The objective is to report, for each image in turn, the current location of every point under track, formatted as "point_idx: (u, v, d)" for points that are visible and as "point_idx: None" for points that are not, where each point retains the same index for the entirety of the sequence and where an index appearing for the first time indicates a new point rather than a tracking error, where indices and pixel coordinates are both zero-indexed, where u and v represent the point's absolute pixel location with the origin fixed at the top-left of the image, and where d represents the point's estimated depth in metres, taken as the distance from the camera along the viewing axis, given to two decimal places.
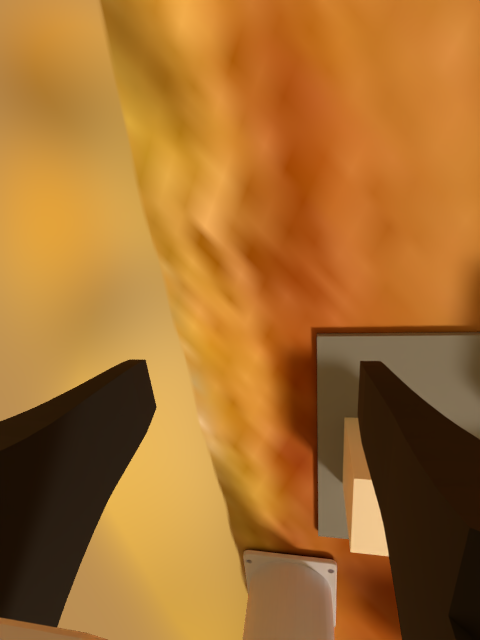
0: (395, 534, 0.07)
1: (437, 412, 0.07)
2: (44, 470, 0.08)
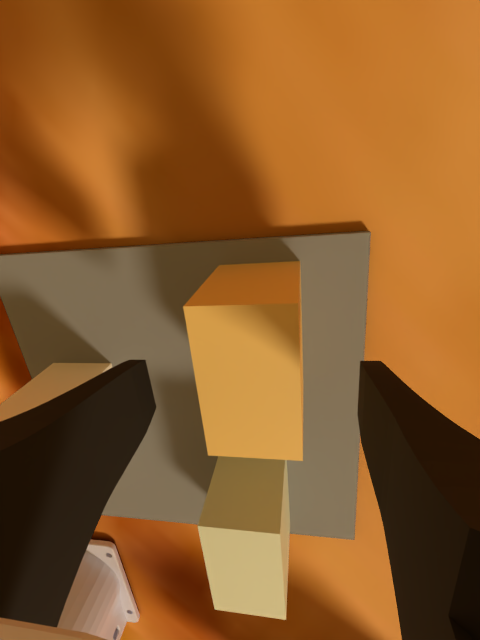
0: (395, 534, 0.07)
1: (437, 412, 0.07)
2: (44, 470, 0.08)
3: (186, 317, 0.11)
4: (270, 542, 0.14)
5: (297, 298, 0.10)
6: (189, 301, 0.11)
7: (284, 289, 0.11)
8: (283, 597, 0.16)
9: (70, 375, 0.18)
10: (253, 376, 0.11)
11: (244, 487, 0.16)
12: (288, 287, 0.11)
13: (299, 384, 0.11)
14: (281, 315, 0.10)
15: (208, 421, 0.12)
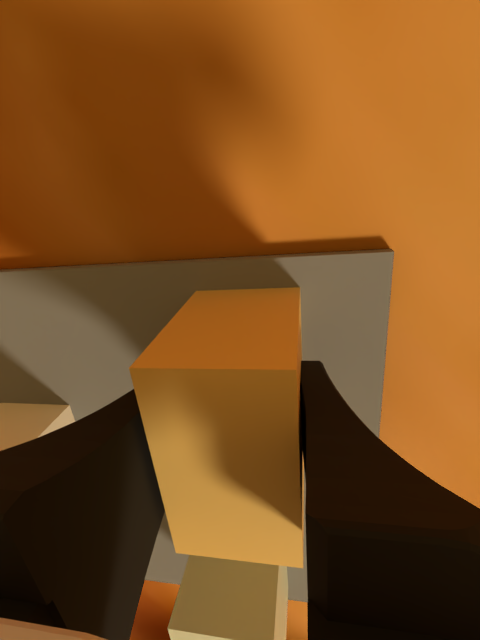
0: None
1: (348, 409, 0.08)
2: (119, 476, 0.07)
3: (134, 383, 0.07)
4: None
5: (295, 358, 0.07)
6: (140, 357, 0.08)
7: (276, 338, 0.08)
8: None
9: (16, 422, 0.14)
10: (232, 462, 0.08)
11: (230, 568, 0.13)
12: (283, 335, 0.08)
13: (298, 476, 0.08)
14: (271, 385, 0.07)
15: (173, 514, 0.09)
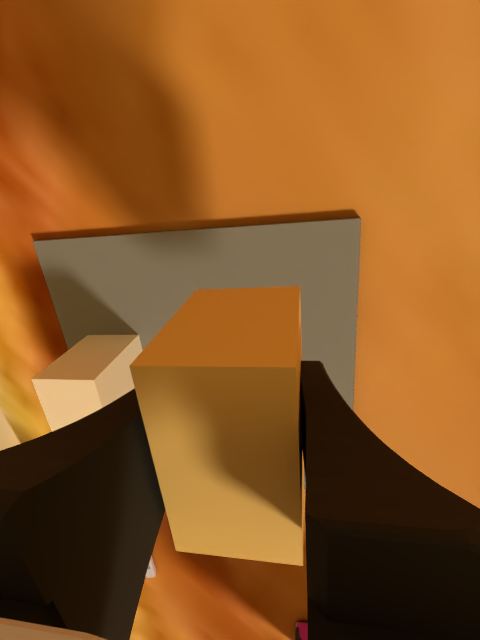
0: None
1: (348, 409, 0.08)
2: (118, 476, 0.07)
3: (134, 380, 0.07)
4: None
5: (295, 356, 0.07)
6: (141, 355, 0.08)
7: (276, 336, 0.08)
8: None
9: (104, 344, 0.20)
10: (232, 460, 0.08)
11: None
12: (282, 333, 0.08)
13: (298, 474, 0.08)
14: (271, 383, 0.07)
15: (174, 511, 0.09)
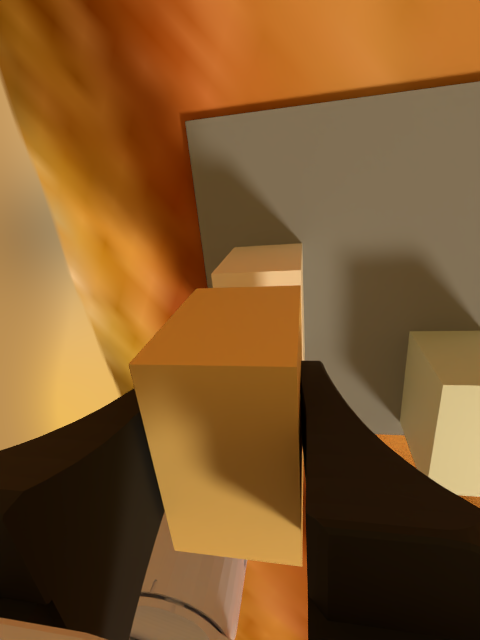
0: None
1: (348, 409, 0.08)
2: (118, 476, 0.07)
3: (134, 379, 0.07)
4: None
5: (295, 355, 0.07)
6: (140, 354, 0.08)
7: (277, 335, 0.08)
8: None
9: (268, 250, 0.17)
10: (232, 460, 0.08)
11: (468, 358, 0.15)
12: (283, 332, 0.08)
13: (298, 474, 0.08)
14: (271, 382, 0.07)
15: (172, 511, 0.09)
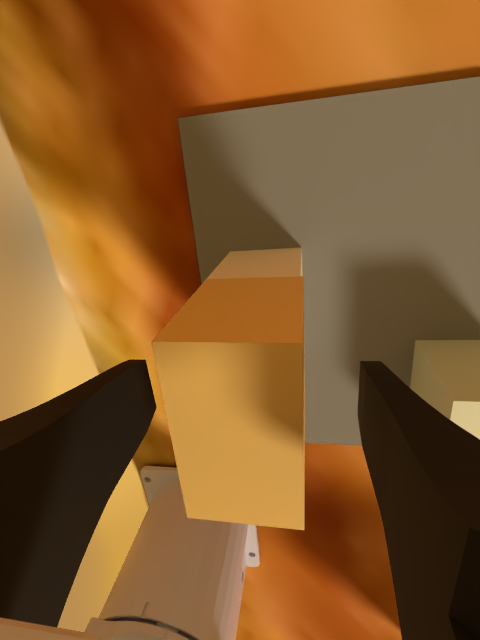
0: (395, 534, 0.07)
1: (437, 412, 0.07)
2: (44, 470, 0.08)
3: (156, 355, 0.08)
4: None
5: (301, 334, 0.08)
6: (161, 333, 0.09)
7: (283, 318, 0.09)
8: None
9: (265, 255, 0.16)
10: (242, 429, 0.09)
11: (479, 371, 0.14)
12: (289, 315, 0.09)
13: (301, 442, 0.09)
14: (279, 357, 0.08)
15: (186, 479, 0.10)
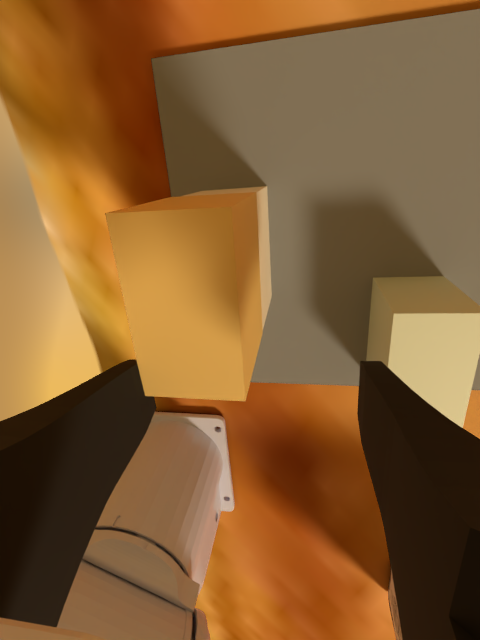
0: (395, 534, 0.07)
1: (437, 412, 0.07)
2: (44, 470, 0.08)
3: (109, 227, 0.10)
4: (474, 326, 0.14)
5: (233, 205, 0.09)
6: (115, 211, 0.10)
7: (224, 202, 0.10)
8: (467, 402, 0.15)
9: (232, 190, 0.17)
10: (186, 298, 0.10)
11: (423, 295, 0.16)
12: (229, 201, 0.10)
13: (237, 308, 0.10)
14: (213, 222, 0.09)
15: (141, 355, 0.11)
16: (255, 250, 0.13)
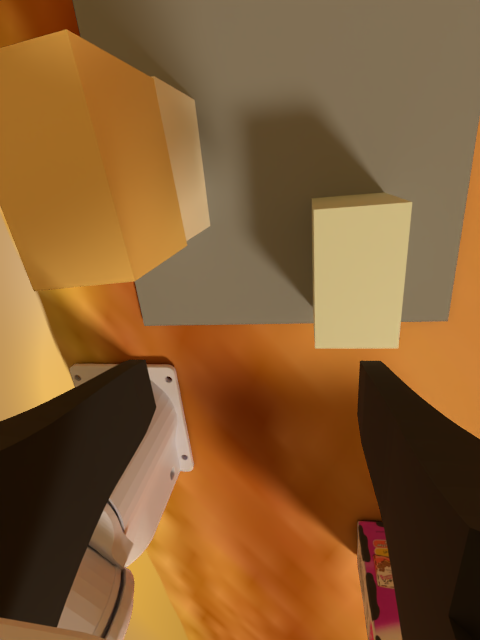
0: (395, 534, 0.07)
1: (437, 412, 0.07)
2: (44, 470, 0.08)
3: None
4: (398, 219, 0.13)
5: (77, 36, 0.08)
6: None
7: None
8: (400, 310, 0.14)
9: None
10: (48, 159, 0.09)
11: (353, 200, 0.15)
12: None
13: (101, 162, 0.09)
14: (53, 53, 0.08)
15: (20, 239, 0.10)
16: (155, 139, 0.12)
